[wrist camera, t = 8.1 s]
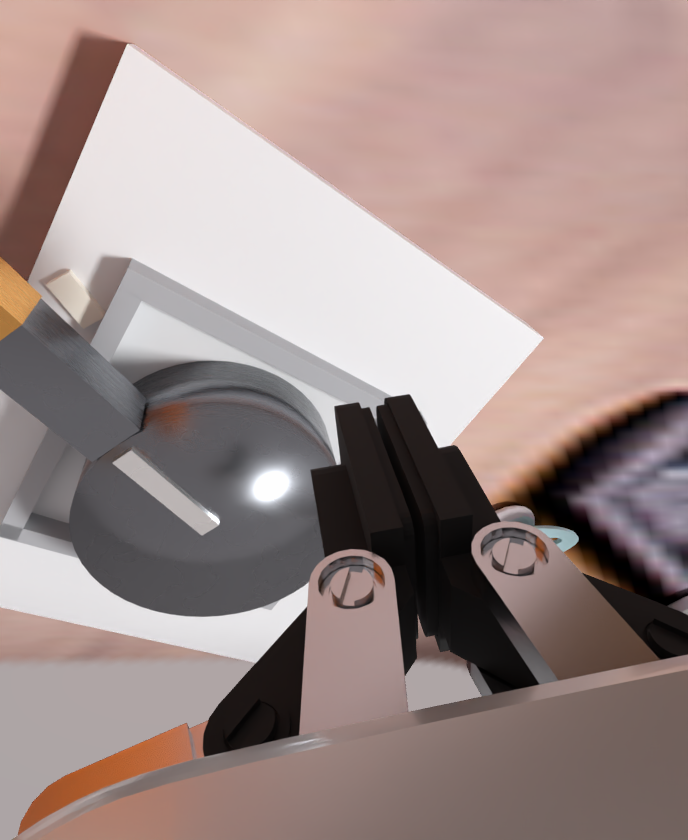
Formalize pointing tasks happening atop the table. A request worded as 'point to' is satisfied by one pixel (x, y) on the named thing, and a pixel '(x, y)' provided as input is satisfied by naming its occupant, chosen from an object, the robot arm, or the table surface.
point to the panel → (227, 321)
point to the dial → (173, 466)
